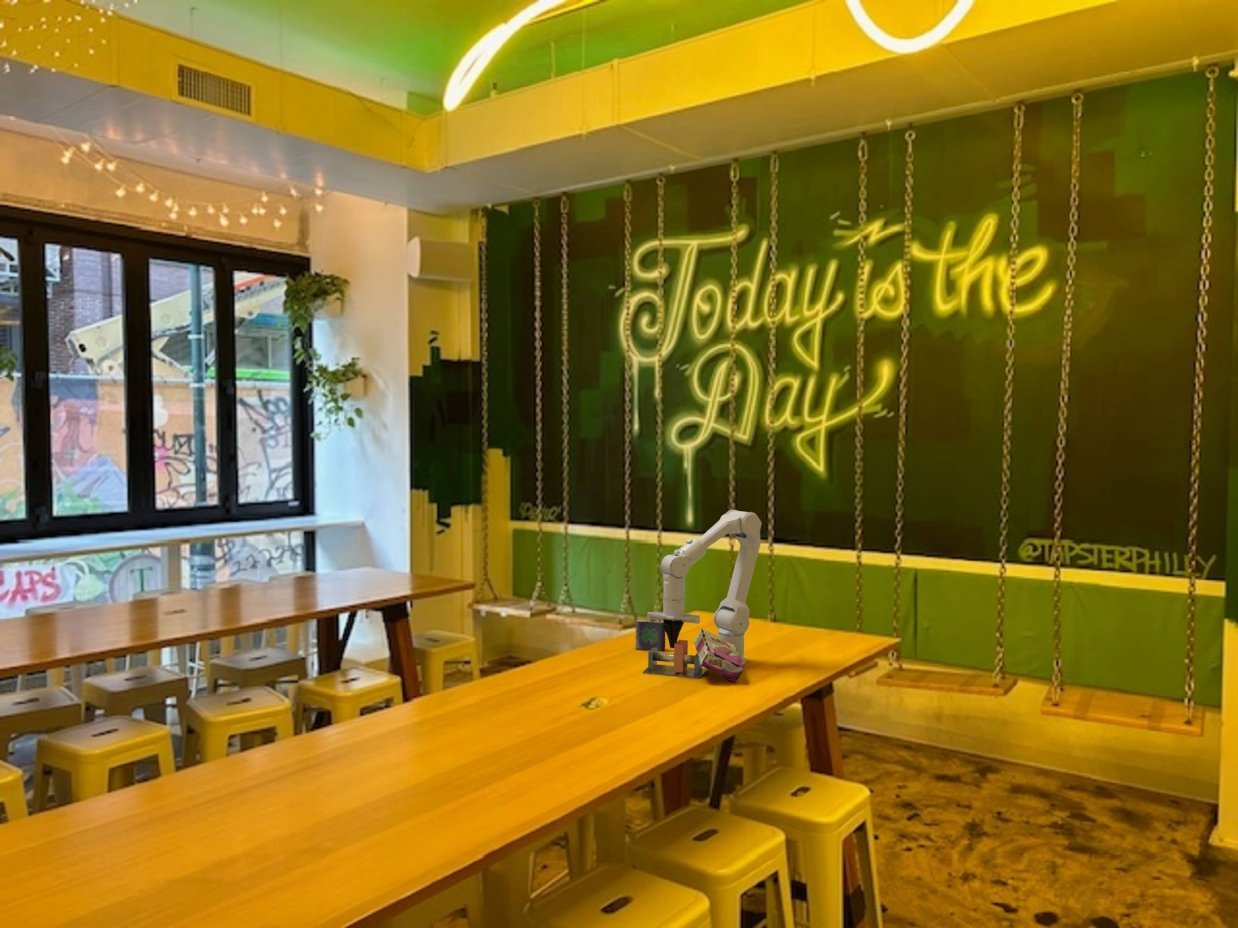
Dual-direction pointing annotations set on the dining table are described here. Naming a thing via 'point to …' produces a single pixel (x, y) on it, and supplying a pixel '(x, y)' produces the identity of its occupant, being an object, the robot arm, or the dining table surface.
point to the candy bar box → (718, 655)
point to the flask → (650, 635)
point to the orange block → (680, 655)
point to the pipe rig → (669, 670)
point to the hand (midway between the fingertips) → (672, 647)
